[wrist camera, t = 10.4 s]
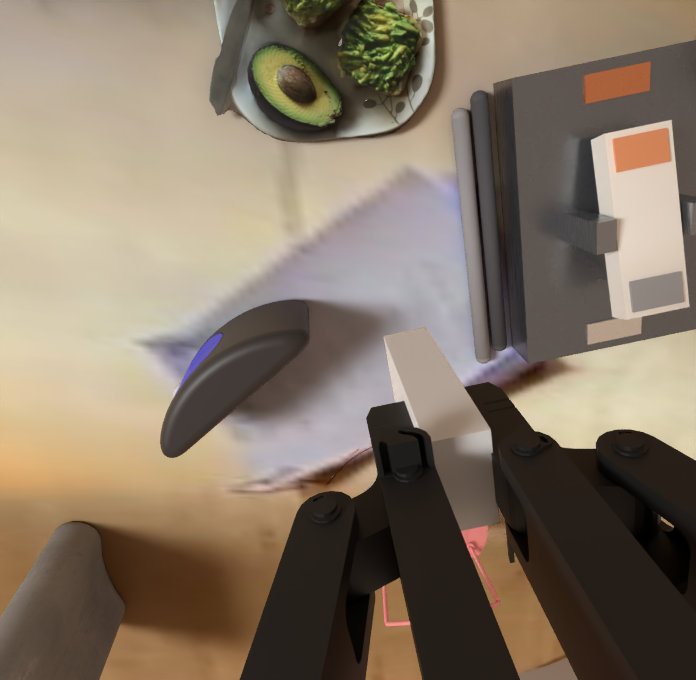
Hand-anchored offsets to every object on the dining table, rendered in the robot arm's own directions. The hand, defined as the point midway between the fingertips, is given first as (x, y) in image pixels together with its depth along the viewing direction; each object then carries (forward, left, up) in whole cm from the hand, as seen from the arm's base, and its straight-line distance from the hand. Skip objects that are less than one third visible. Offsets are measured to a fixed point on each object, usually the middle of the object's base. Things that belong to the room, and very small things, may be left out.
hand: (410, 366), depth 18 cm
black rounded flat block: (+10, -12, -30) cm, 34 cm away
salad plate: (-15, +1, -30) cm, 34 cm away
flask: (+32, -36, -30) cm, 57 cm away
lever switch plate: (+3, +22, -29) cm, 37 cm away
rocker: (+3, +22, -22) cm, 31 cm away
